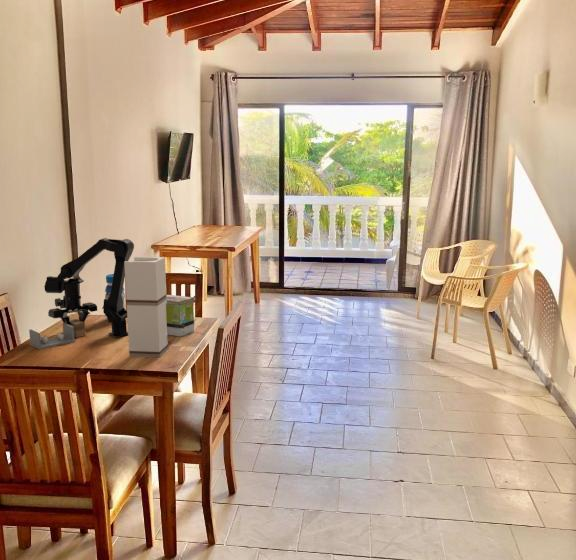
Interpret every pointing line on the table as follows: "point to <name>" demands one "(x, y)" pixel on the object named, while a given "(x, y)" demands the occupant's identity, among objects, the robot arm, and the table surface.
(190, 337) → the table surface
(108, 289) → the beverage bottle
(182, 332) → the green and white box
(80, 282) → the robot arm
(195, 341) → the table surface
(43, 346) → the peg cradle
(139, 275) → the white banded pillar
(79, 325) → the brown rectangular block
